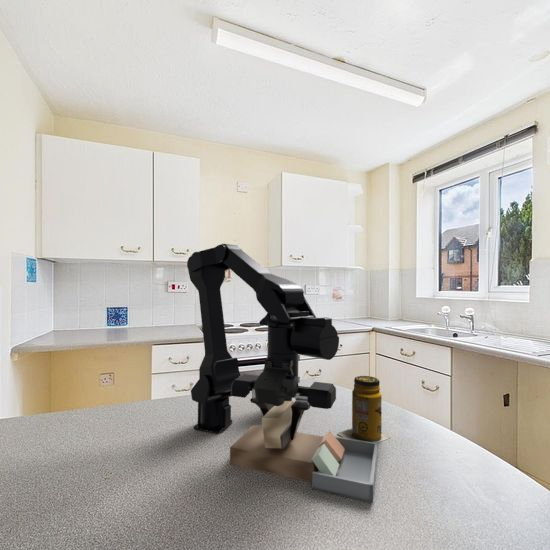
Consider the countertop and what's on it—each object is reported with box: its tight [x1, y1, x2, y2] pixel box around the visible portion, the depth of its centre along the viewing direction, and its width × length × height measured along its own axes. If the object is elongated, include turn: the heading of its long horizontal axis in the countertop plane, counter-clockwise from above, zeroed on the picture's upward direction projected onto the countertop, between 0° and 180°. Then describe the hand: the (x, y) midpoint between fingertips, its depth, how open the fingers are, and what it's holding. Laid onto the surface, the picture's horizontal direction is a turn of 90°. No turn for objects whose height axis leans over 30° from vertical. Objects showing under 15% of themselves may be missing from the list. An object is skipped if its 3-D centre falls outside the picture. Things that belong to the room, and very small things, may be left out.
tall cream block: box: [261, 400, 295, 449], centre depth 61 cm, size 3×9×5 cm, turn 160°
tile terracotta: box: [320, 430, 345, 462], centre depth 60 cm, size 4×4×2 cm
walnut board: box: [229, 424, 324, 483], centre depth 61 cm, size 15×10×3 cm, turn 70°
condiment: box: [336, 375, 391, 444], centre depth 70 cm, size 7×8×12 cm
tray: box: [311, 435, 379, 504], centre depth 56 cm, size 9×14×2 cm, turn 160°
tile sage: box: [312, 444, 339, 476], centre depth 55 cm, size 4×4×2 cm
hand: (282, 437), depth 61 cm, fingers closed on tall cream block, 4 cm apart
